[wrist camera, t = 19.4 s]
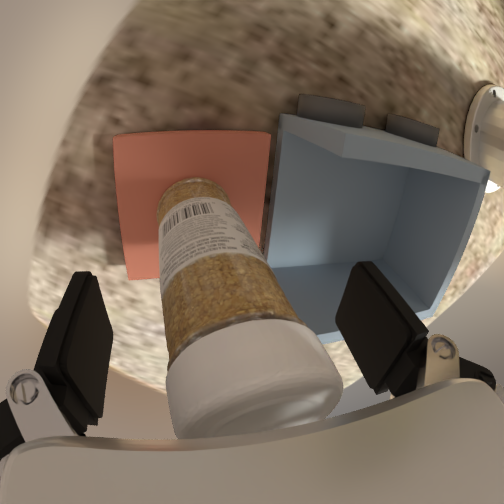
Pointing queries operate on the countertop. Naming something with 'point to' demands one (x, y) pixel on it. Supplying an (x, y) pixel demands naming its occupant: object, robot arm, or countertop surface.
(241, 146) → the panel
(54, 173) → the countertop surface
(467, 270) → the countertop surface
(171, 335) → the sprinkles bottle
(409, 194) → the box
